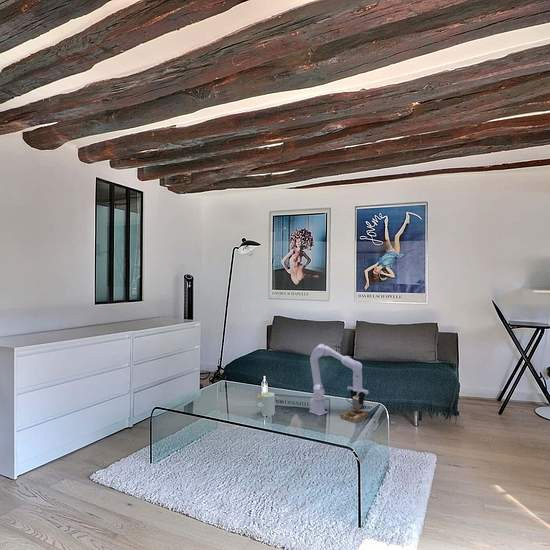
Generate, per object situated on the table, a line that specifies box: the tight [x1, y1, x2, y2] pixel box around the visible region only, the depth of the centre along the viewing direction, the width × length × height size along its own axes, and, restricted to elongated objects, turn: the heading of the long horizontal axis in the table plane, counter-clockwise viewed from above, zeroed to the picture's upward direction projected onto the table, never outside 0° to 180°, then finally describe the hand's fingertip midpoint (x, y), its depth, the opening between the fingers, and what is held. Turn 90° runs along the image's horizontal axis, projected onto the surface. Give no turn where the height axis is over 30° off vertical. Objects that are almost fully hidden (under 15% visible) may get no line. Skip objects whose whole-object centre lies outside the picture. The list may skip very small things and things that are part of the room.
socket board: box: [340, 408, 370, 424], centre depth 259 cm, size 11×14×3 cm
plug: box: [352, 395, 362, 409], centre depth 261 cm, size 4×4×7 cm
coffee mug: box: [346, 392, 365, 411], centre depth 276 cm, size 12×9×10 cm
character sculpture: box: [256, 391, 277, 415], centre depth 267 cm, size 20×12×13 cm, turn 145°
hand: (357, 403), depth 261 cm, fingers closed on plug, 4 cm apart
